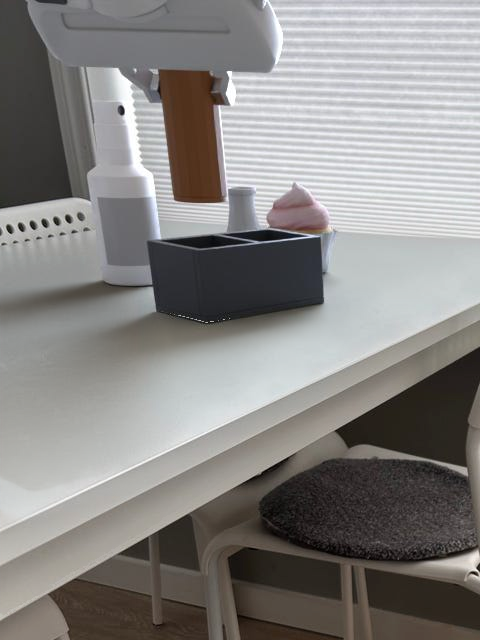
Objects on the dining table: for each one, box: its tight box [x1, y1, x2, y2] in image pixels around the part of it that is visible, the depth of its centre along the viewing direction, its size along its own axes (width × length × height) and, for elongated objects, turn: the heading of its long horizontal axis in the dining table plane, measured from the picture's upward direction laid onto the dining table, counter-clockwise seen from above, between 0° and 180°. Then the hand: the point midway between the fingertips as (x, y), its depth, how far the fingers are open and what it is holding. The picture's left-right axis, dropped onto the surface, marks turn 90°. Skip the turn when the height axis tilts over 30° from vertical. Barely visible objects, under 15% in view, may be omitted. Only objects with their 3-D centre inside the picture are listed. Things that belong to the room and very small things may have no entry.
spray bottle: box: [86, 99, 162, 287], centre depth 104 cm, size 7×7×18 cm
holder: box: [147, 227, 325, 325], centre depth 97 cm, size 8×15×7 cm, turn 141°
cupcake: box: [262, 181, 340, 273], centre depth 115 cm, size 9×9×10 cm
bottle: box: [157, 69, 229, 204], centre depth 86 cm, size 5×5×15 cm
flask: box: [226, 186, 261, 232], centre depth 107 cm, size 7×7×10 cm
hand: (193, 99), depth 86 cm, fingers closed on bottle, 5 cm apart
